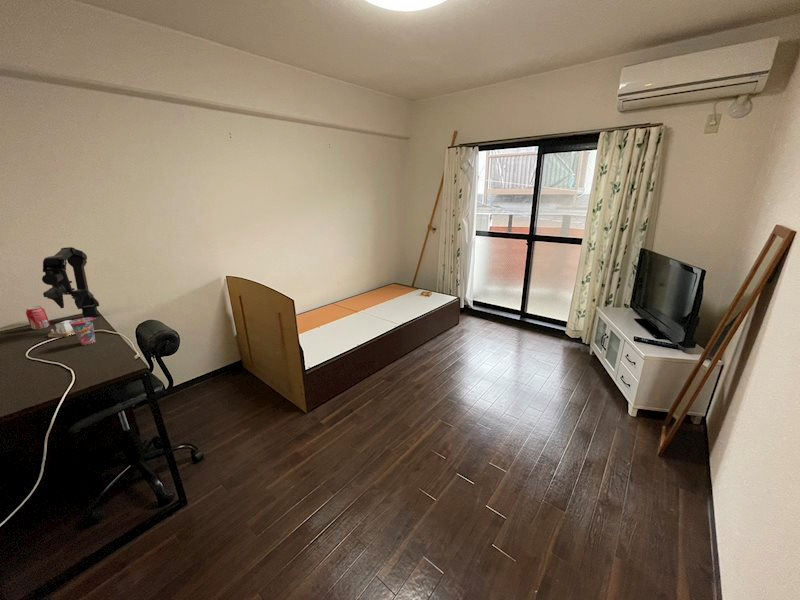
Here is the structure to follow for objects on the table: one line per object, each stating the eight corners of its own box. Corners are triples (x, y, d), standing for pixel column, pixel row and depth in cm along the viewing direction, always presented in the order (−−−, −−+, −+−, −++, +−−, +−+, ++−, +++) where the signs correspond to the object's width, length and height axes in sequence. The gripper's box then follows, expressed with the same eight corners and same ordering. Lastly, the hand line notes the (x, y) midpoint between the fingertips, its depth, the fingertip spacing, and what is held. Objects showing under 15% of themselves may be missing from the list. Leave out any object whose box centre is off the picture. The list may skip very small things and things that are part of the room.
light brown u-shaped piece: (66, 330, 175) (63, 323, 174) (83, 329, 176) (81, 323, 174) (48, 337, 166) (45, 330, 165) (67, 336, 167) (64, 329, 165)
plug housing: (69, 330, 175) (66, 319, 173) (78, 330, 175) (74, 319, 173) (58, 335, 169) (54, 323, 167) (67, 334, 169) (63, 323, 167)
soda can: (36, 327, 181) (28, 306, 178) (53, 324, 184) (45, 305, 181) (29, 331, 175) (21, 310, 172) (46, 328, 178) (38, 308, 175)
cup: (78, 348, 153) (70, 324, 149) (75, 343, 158) (67, 320, 154) (104, 341, 160) (97, 318, 156) (99, 337, 165) (92, 315, 161)
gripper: (27, 284, 163) (38, 313, 168) (64, 284, 163) (74, 312, 168) (49, 279, 173) (59, 306, 178) (84, 278, 174) (93, 305, 179)
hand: (71, 308), depth 176 cm, fingers open, 9 cm apart
